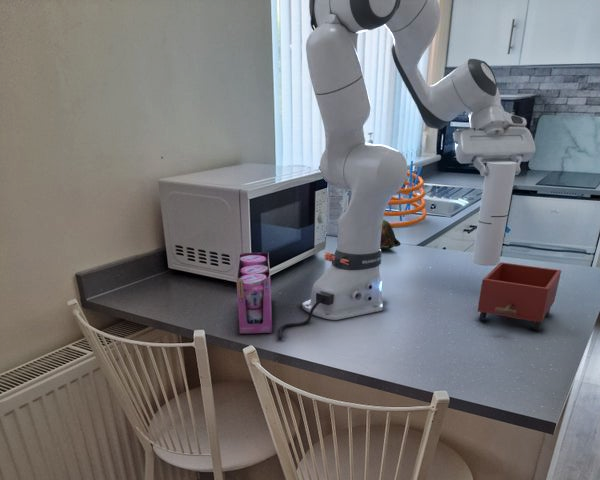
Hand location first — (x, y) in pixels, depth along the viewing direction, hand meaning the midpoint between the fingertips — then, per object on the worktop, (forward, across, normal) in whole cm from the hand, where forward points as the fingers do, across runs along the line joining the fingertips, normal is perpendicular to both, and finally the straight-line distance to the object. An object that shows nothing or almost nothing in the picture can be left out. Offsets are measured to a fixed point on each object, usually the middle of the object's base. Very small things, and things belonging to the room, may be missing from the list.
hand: (501, 174), depth 135 cm
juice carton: (-35, -24, +79) cm, 90 cm away
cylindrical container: (+16, 0, +16) cm, 23 cm away
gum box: (+26, -64, +19) cm, 71 cm away
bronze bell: (-15, -15, +59) cm, 63 cm away
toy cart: (+37, -2, +7) cm, 38 cm away
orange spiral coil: (-51, +5, +95) cm, 108 cm away
